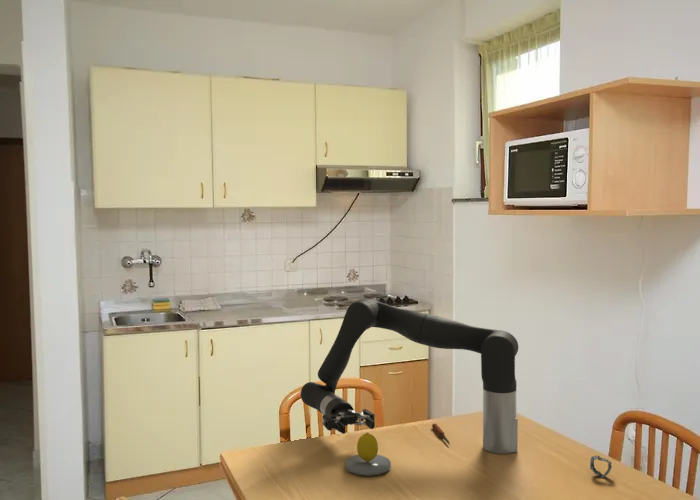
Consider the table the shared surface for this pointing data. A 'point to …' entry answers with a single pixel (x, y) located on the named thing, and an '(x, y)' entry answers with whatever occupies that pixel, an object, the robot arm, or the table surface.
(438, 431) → the kitchen knife
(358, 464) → the dish
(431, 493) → the table surface
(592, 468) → the wristwatch
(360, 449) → the lemon
